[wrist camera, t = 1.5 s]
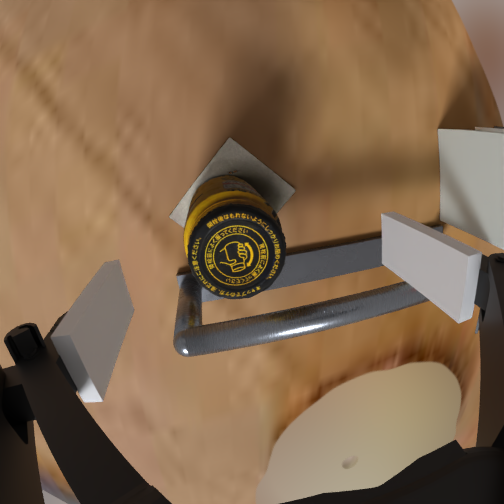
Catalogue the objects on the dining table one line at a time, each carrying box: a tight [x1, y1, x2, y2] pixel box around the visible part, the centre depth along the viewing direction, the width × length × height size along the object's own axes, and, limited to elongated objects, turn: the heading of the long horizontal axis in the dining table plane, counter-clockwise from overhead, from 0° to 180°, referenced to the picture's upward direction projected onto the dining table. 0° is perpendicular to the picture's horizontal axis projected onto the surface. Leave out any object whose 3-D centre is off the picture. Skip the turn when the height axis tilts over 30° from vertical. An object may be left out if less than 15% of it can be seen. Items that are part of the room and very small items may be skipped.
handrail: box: [173, 225, 443, 357], centre depth 26 cm, size 28×3×10 cm, turn 98°
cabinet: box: [438, 126, 504, 250], centre depth 25 cm, size 11×8×10 cm
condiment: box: [169, 138, 296, 299], centre depth 22 cm, size 7×8×12 cm
